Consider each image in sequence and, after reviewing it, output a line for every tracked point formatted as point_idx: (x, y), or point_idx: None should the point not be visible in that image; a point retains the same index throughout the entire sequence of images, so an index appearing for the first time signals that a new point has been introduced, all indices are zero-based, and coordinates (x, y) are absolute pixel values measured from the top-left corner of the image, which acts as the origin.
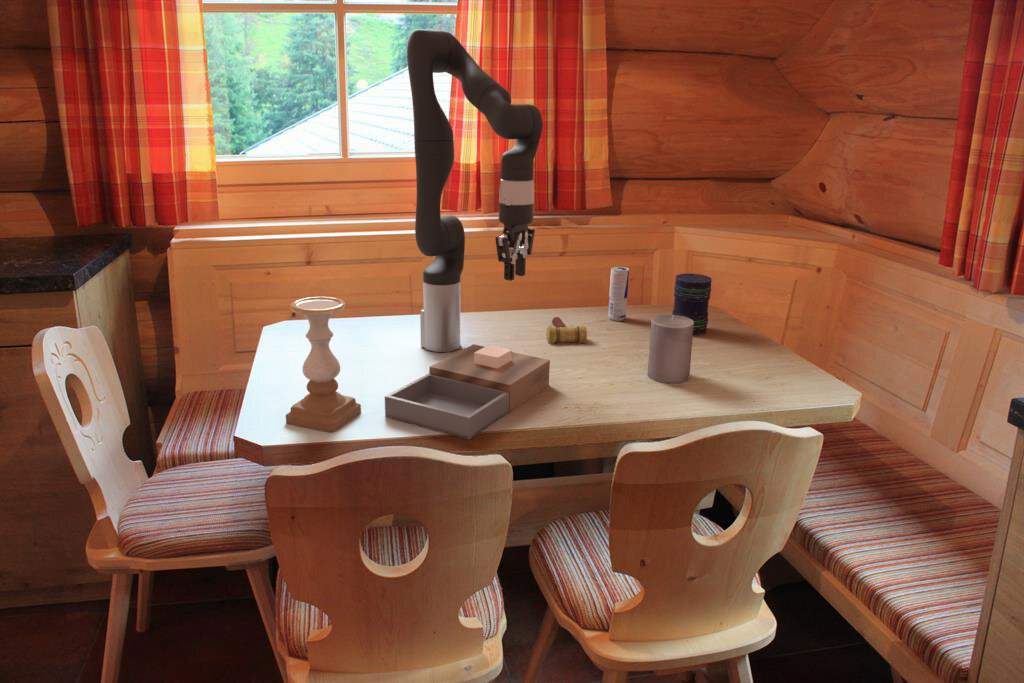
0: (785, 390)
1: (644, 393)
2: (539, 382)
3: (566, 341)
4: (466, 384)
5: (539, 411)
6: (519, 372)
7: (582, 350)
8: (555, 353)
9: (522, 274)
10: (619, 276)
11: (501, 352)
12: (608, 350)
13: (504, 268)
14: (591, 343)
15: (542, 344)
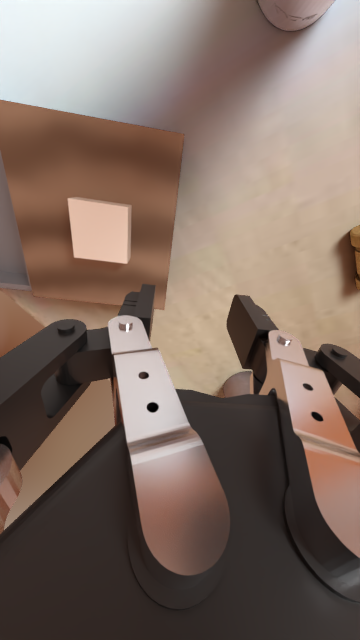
0: None
1: (187, 379)
2: None
3: (355, 257)
4: (14, 215)
5: (80, 309)
6: (88, 289)
7: (318, 289)
8: (298, 258)
9: (229, 323)
10: None
11: (103, 252)
12: (322, 319)
13: (119, 312)
14: (353, 291)
15: (343, 221)
